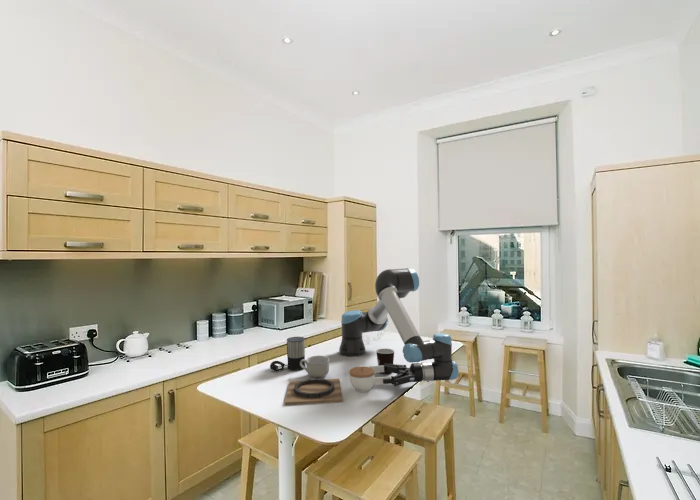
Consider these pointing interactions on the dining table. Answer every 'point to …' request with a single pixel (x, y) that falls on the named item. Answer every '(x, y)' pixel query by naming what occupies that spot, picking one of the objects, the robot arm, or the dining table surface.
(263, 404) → the dining table surface
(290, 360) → the milk frother
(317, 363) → the teacup
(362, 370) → the lidded jar
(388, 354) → the coffee mug
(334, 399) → the locating board
